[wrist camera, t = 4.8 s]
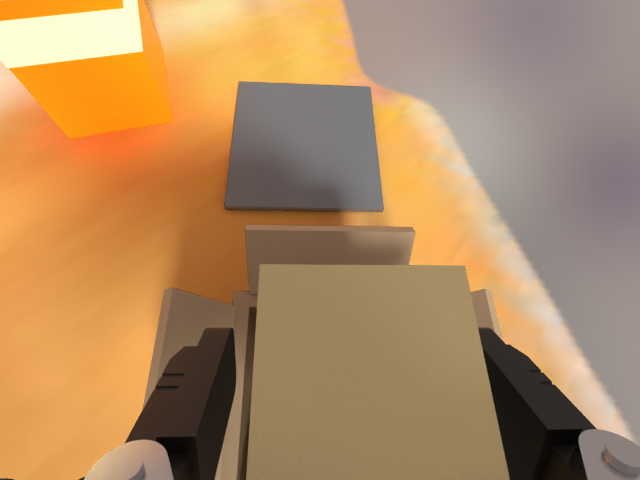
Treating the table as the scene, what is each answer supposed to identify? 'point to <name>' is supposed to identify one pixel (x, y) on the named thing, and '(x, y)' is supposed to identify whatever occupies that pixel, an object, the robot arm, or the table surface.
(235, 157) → the felt mat
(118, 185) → the table surface
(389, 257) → the carton
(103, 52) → the orange juice
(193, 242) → the table surface
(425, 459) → the tall two-tone pillar
